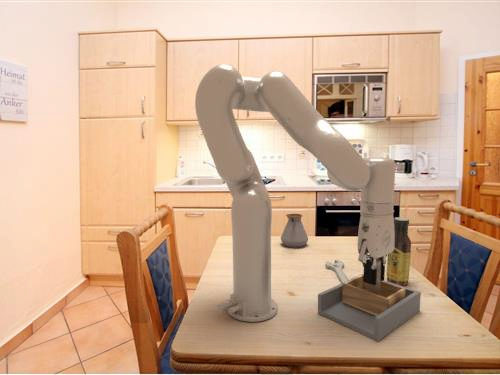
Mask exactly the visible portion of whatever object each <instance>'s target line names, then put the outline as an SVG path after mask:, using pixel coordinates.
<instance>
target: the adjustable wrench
mask: <svg viewBox="0 0 500 375" xmlns="http://www.w3.org/2000/svg"><path fill="white" fill-rule="evenodd" d="M344 267H345V262H344V261H343V260H340V259H334V263H332V262H331V261H329V260H326V261H325V269H327V270H330V271H332V272H334V273H335V275H336V277H337V278H338V280H339V283H340V284H341V283H344V282H346V281H348V280H350V279H349V277H348V276H347V275H346V273H345V271H344V270H343V269H344Z"/></svg>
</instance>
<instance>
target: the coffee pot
mask: <svg viewBox="0 0 500 375" xmlns="http://www.w3.org/2000/svg"><path fill="white" fill-rule="evenodd" d="M285 216H286V217H287V219H288V220H287V223H286V224H285V227H284V229H283V232H282V234H281V236H280V241H281V242H282V243H283V244H284V245H285V247H288V248H291V249H292V248H302V247H304V246H305V245H306V244H308V242H309V236H308V234H307V233H306V230H305V226H304V225H303V222H302V217H303V214H302V213H288V214H285Z"/></svg>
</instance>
